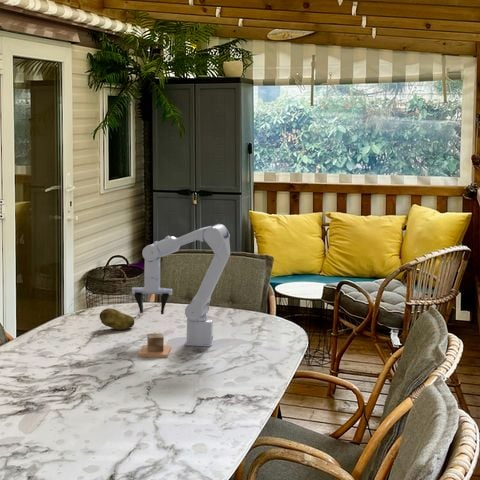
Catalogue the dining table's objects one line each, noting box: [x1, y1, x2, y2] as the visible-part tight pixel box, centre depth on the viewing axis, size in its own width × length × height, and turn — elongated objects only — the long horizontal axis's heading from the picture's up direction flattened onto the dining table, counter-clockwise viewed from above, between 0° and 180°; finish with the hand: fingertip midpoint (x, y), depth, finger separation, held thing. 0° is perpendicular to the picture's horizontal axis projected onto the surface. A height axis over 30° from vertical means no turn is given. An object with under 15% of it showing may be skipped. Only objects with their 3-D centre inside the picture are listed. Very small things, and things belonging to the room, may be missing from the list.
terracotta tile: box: [137, 344, 172, 358], centre depth 258 cm, size 10×10×1 cm
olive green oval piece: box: [99, 308, 135, 331], centre depth 284 cm, size 8×13×8 cm, turn 90°
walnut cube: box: [146, 333, 165, 352], centre depth 257 cm, size 5×5×5 cm
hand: (151, 313), depth 273 cm, fingers open, 7 cm apart
